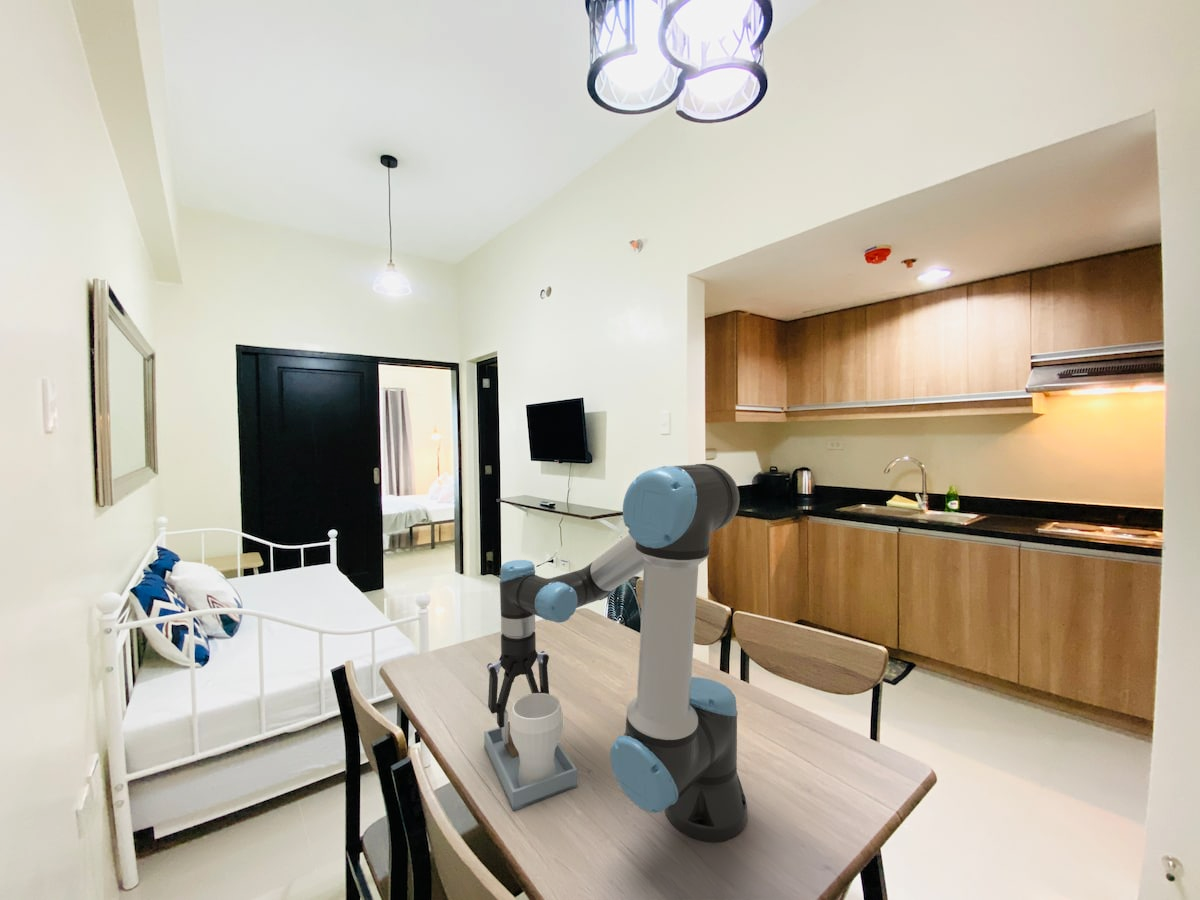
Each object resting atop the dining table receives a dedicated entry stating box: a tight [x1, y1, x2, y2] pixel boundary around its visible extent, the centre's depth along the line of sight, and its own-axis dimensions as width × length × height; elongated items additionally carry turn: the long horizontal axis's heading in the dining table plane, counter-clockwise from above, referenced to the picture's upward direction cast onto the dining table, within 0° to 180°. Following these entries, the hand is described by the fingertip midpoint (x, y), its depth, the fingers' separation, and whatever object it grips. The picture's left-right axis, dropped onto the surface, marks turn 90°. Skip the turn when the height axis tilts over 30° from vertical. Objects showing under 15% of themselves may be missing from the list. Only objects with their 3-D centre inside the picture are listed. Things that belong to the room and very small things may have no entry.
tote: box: [483, 726, 579, 812], centre depth 101 cm, size 21×13×4 cm, turn 28°
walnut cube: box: [504, 721, 519, 758], centre depth 106 cm, size 5×5×5 cm
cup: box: [509, 693, 564, 787], centre depth 96 cm, size 11×11×15 cm
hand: (519, 735), depth 106 cm, fingers open, 6 cm apart
